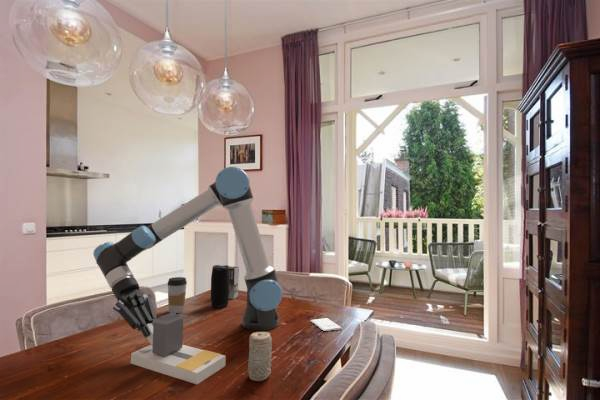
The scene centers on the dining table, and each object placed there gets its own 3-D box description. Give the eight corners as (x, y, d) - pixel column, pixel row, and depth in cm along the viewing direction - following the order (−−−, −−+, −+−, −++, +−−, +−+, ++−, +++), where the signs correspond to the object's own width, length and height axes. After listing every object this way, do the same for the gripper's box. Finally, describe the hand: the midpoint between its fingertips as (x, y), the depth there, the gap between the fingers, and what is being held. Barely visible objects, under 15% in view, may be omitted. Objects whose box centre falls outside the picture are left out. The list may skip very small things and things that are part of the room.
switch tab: (151, 352, 98) (153, 319, 99) (170, 344, 105) (171, 312, 105) (164, 356, 96) (165, 322, 97) (182, 347, 103) (183, 315, 103)
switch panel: (130, 363, 99) (131, 352, 99) (162, 348, 110) (163, 339, 110) (196, 384, 88) (197, 372, 88) (225, 365, 98) (225, 355, 99)
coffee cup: (179, 315, 144) (180, 281, 145) (162, 313, 146) (163, 280, 147) (189, 309, 153) (190, 277, 153) (173, 308, 154) (174, 276, 155)
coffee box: (238, 296, 179) (239, 266, 180) (233, 299, 173) (234, 268, 173) (222, 295, 181) (223, 265, 181) (217, 298, 174) (218, 267, 175)
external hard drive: (327, 321, 142) (342, 331, 131) (310, 323, 139) (323, 333, 128) (327, 317, 142) (342, 327, 131) (310, 319, 139) (323, 329, 128)
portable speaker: (230, 304, 164) (231, 264, 164) (225, 309, 154) (226, 267, 155) (213, 303, 164) (215, 264, 165) (207, 308, 155) (209, 267, 156)
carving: (244, 382, 89) (245, 338, 89) (253, 369, 96) (254, 328, 97) (266, 385, 88) (267, 340, 88) (273, 372, 95) (274, 330, 96)
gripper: (134, 286, 116) (166, 343, 108) (98, 294, 104) (131, 358, 97) (145, 272, 114) (179, 329, 106) (109, 279, 102) (144, 344, 94)
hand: (156, 343), depth 101 cm, fingers closed
